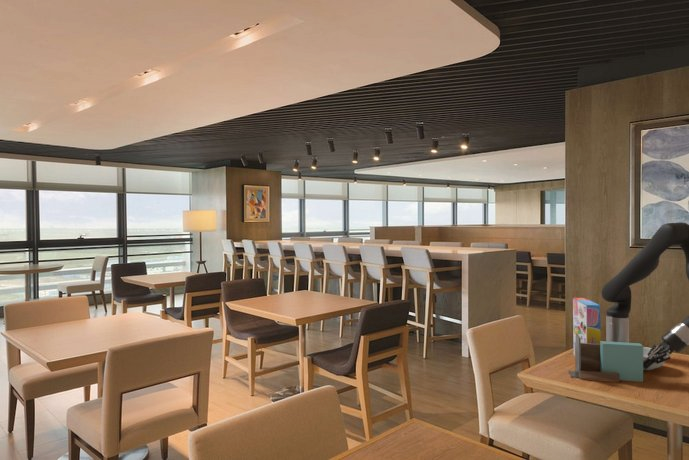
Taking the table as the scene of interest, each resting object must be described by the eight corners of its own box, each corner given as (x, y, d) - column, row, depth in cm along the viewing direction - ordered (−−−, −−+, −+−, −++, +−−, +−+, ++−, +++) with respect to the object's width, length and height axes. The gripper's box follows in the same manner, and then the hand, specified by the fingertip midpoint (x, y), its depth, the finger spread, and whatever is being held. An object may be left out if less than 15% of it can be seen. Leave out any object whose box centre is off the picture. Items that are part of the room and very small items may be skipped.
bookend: (568, 371, 191) (567, 333, 191) (577, 372, 190) (577, 333, 190) (570, 377, 184) (570, 337, 184) (580, 377, 183) (580, 338, 183)
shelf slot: (575, 371, 192) (575, 342, 191) (612, 374, 187) (612, 344, 187) (579, 378, 182) (579, 348, 182) (619, 382, 178) (619, 351, 178)
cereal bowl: (618, 359, 207) (618, 343, 207) (662, 364, 199) (662, 348, 199) (620, 370, 192) (620, 353, 192) (668, 376, 184) (668, 358, 184)
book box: (600, 375, 186) (600, 341, 186) (639, 378, 182) (639, 343, 182) (602, 378, 182) (602, 343, 182) (643, 381, 178) (643, 345, 178)
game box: (601, 369, 193) (601, 305, 193) (587, 369, 194) (586, 305, 194) (585, 355, 213) (585, 297, 213) (572, 355, 215) (572, 297, 214)
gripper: (664, 326, 183) (630, 354, 187) (678, 334, 170) (640, 364, 174) (680, 340, 182) (645, 368, 185) (695, 349, 169) (656, 379, 173)
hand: (643, 366), depth 180 cm, fingers closed
